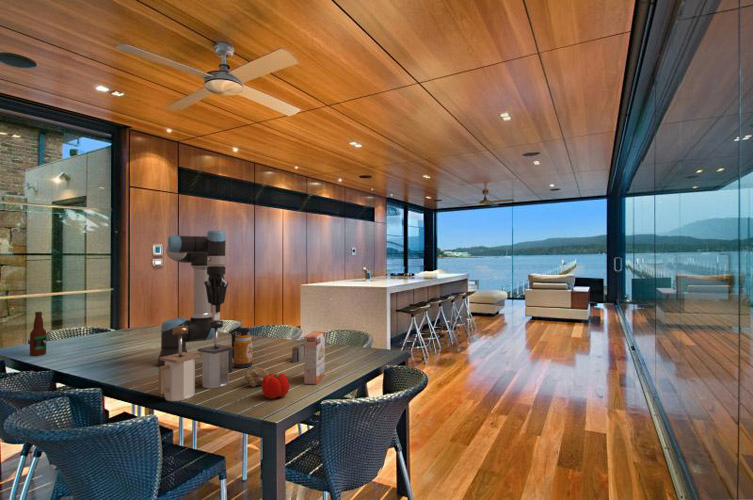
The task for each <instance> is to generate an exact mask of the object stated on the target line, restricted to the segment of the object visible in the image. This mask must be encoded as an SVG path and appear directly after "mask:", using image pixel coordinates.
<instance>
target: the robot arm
mask: <svg viewBox="0 0 753 500" xmlns="http://www.w3.org/2000/svg"><path fill="white" fill-rule="evenodd" d="M206 235H207V236H201V235H200V236H199V235H198V236H197V235H169V236H168V237H167V246H166V249H165V250H166V256H167V257H168V258H170V259H171V260H173V261H175V262H178V263H184V264H188V263H189V264H190V267H191V268H192V269H193V312H192V314H191V315H190V317H189V318H190V319H188V320H187V318H186V317H176V318H170V319H167V320H164V321H163V322H162V323H161V330H160V332H161V333H160V334H161V336H160V337H161V340H160V352H159V354H158V355H159V356H158V357H157V362H156V363H157V364H156V365H157V367H161V366H165V361H162V360H160V357H164V356H169V355H173V354H178V353H179V335H173V327H176V326H188V334H183V335H182V352H186V353H188V350H187V343H191V342H201V341H204V342H205V341H209V340H210V341H211V340H213V339H214V328H209V321H214V320H221V315H220V314H221V306H222V304H224V303H225V299H226V293H227V288H228V285H229V281H226V280H225V277H224V275H226V240H227V237H226V232H225V231H223V230H209V231H207V233H206Z"/></svg>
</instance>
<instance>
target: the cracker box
mask: <svg viewBox="0 0 753 500" xmlns="http://www.w3.org/2000/svg"><path fill="white" fill-rule="evenodd" d="M325 338H326V332H325V331H322V330H321V331H319V330H317V331H316V330H315V331H314V330H313V331H312V332H310V333H309V334H307V335H305V336H304V345H305V358H304V363H303V364H304V366H303V368H304V370H303V371H304V374H303V375H304V376H303V377H304V378H303V380H304V381H303V382H304V383H303V384H304V385H317V384H318V383H319V382H320V381H321V380H322V379H323V378H324V377H325V360H326V359H325V353H326V352H325V350H326V347H325V345H326V344H325V343H326V342H325V341H326V339H325ZM322 377H323V378H322Z"/></svg>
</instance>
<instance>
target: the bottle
mask: <svg viewBox="0 0 753 500" xmlns="http://www.w3.org/2000/svg"><path fill="white" fill-rule="evenodd" d="M34 314H35V315H34V316H35V317H34V320H33V329H32V330H31V331H30V334H29V356H30V357H40V356H39V355H42V356H44V354H45V355H46V354H47V330H46V329H45V328H44V319H43V312H42V311H35V312H34Z"/></svg>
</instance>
